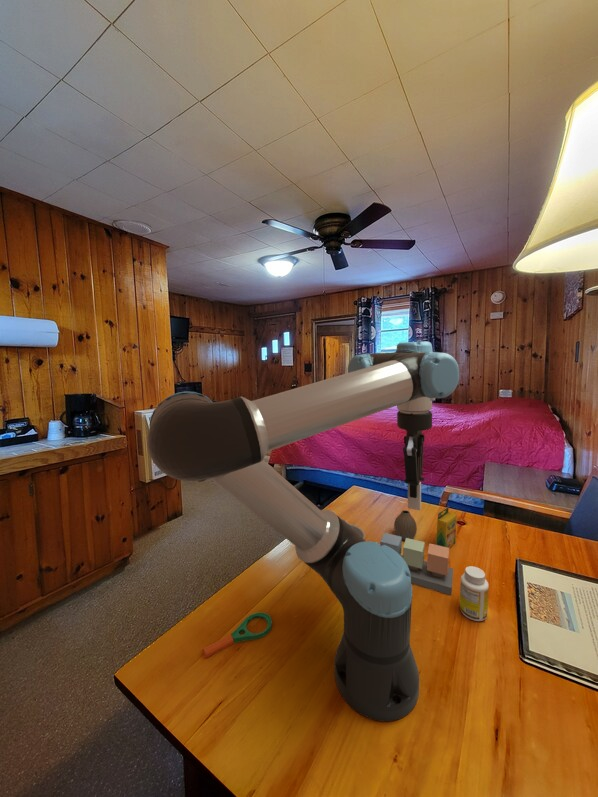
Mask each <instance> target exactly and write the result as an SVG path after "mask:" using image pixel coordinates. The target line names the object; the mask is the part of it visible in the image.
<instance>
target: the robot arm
mask: <svg viewBox="0 0 598 797" xmlns="http://www.w3.org/2000/svg"><path fill="white" fill-rule="evenodd" d="M459 381H460V369H459V364H458V362H457V360H456V358H454V357H453V356H452V355H451V354H449V353H447V352H438V351H433V345H432V343H431V342H430V341H426V340H425V341H407V342H406V341H405V342H404V341H403V342H398V343H397V345H396V350H395V351H394V352H376V353H374V352H373V353H367V352H365V353H364V354H355V355H354V356H353V357H351V359H350V360H349V363H348V366H347V373H343V374H340V375H337V376H333V377H330V378H326V379H323V380H319V381H316V382H313V383H308V384H306V385H303V386H299V387H296V388H292V389H289V390H284V391H282V392H279V393H276V394H271V395H268V396H267V395H266V396H265V397H261V398H257V399H253V400H250V399H247V398H246V397H244V396H239V397H234V398H231V399H228V400H222V401H221V400H220V401H212V400H211V399H210V398H209V397H208V396H206V395H203V394H202V393H198V392H196V391H181V392H176V393H173V394H171V395H169V396H167V397H166V398H164V399H163V400H162V401H161V402H158V405H157V407H155V408H154V410H153V412H152V414H151V416H150V419H149V428H148V432H147V442H146V445H147V450H148V454H149V457H150V458H151V460H152V462H153V464H154V465H155V467H157V468H158V469H159V471H160V472H162V473H163V474H165V475H166V476H168V477H170V478H172V479H175V480H177V481H178V480H179V481H186V482H187V481H188V482H198V483H200V484H204V483H207V482H208V483H209V482H213V483H214V484H215V485H217V486H218V487H219V488H221V489H222V490H223V491H225V492H226V493H228V494H229V495H230V496H231V497H232V498H234V500H237V501H238V503H240V504H241V505H243V506H244V507H245V508H246V509H248V510H249V511H250V512H252V513H253V514H254V515H256V516H257V517H258V518H259V519H260V520H262V521H263V522H264V523H266V524H267V525H268V526H270V528H272V529H273V530H274V531H275V532H277V533H278V534H279V535H281V536H282V537H283V538H285V539H286V540H287V541H289V542H290V544H293V545H294V546H295V547H294V549H295V553H296V555H297V557H298V559H299V560H300V561H301V562H303V563H304V564H305V565H307V566H308V567H309V568H311V569H312V570H313V571H314V572H316V573H317V574H318V575H319V576H320V577H321V578H322V580H323V581H324V582H325V583H326V585H327V586H328V587H329V589H330V590H331V593H333V595H334V596H335V598H336V599H337V600H338V602H339V603H340V605H341V607H342V610H343V633H342V635H341V638H340V641H339V644H338V645H337V648H336V652H335V654H334V655H335V656H334V678H335V679H334V680H335V682H336V686H337V689H338V691H339V693H340V695H341V697H342V698H343V699H344V700H345V702H346V703H347V704H348V705H349V706H350V707H351V708H352V709H353V710H354V711H355V712H357V713H358V714H360V715H362V716H364V717H366V718H368V719H371V720H374V721H379V722H393V721H397V720H400V719H402V718H404V717H405V716H407V715H408V714H409V713H410V712H411V711H412V710H413V709H414V708H415V706H416V705H417V701H418V699H419V694H420V674H419V668H418V666H417V662H416V658H415V655H414V653H413V651H412V647H411V644H410V643H411V641H410V640H411V621H412V602H413V600H412V599H413V586H412V585H413V584H411V575H410V570H409V568H408V565H407V564H406V562H405V560H404V559H403V558H402V557H401V556H400V554H398V553H397V552H396V551H395V550H393V549H392V548H390V547H388V546H386V545H383V546H381V545H380V542H376V541H370V540H368V541H366V540H365V539H363V538H362V537H361V536H360V535H359V534H357V533H356V532H355V531H354V530H353V529H352V528H351V526H350V525H349V524H350V523H348V522H347V521H346V520H344V519H343V518H341V517H340V516H339V515H337V513H335V512H334V511H332V510H330V509H320V508H318V507H317V505H315V504H314V503H313V502H312V501H311V500H309V499H308V498H307V497H306V496H305V495H304V494H303V493H302V492H300V490H298V489H297V488H296V487H295V486H294V485H293V484H291V483H290V482H289V481H288V480H286V479H285V477H283V476H282V474H280V473H279V472H278V471H276V469H275V468H273V467H272V466H271V465H270V464H269V463H267V462H266V461H265V460H264V459H265V457H266V454H267V453H268V452H270V451H273V450H276V449H279V448H282V447H285V446H287V445H291V444H293V443H295V442H298V441H302V440H304V439H306V438H310V437H312V436H313V437H314V436H315V435H316V436H317V435H318V434H321V433H323V432H326V431H329V430H333V429H335V428H338V427H340V426H344V425H347V424H349V423H351V422H355V421H357V420H360V419H362V418H367V417H369V416H373V415H374V414H377V413H380V412H382V411H385V410H388V409H392V408H394V407H396V409H397V410H398V411H397V412H396V418H397V419H396V420H397V421H396V422H397V423H396V425H397V427H398V428H399V429H401V430H404V431H406V435H404V437H403V444H404V446H403V447H402V451H403V458H404V474H405V479H404V481H403V483H404V484H407V509H409V510H414V511H421V509H422V482H425V477H422V476H423V474H424V472H423V464H424V461H423V460H424V444H425V443H424V442H425V441H426V440H425V439H426V438H425V434H424V433H423V431H427V430H430V429H431V428H432V427H433V413H432V411H431V410H432V409H433V402H434V401H436V399H444V398H447V397H449V396H450V395H452V393H454V391H455V390H456V389H457V386H458V384H459ZM421 481H422V482H421Z"/></svg>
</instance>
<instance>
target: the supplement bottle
mask: <svg viewBox="0 0 598 797" xmlns="http://www.w3.org/2000/svg"><path fill="white" fill-rule="evenodd" d="M489 586H490V585H489V582H488V580H487V579H486V573H485V571H484V570H482V569H481V568H479V567H478V566H473V565H471V566H470V565H469V566H466V567H465V570H464V573H463V574H461V577H460V587H459V609H460V611H461V613H462V614H463V616H465V617H466V618H467V619H469V620H471V621H474V622H482V621H484V620H487V617H488V609H489V608H488V606H489V604H488V603H489V592H490V591H489V590H490V589H489Z"/></svg>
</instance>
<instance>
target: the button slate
mask: <svg viewBox="0 0 598 797" xmlns="http://www.w3.org/2000/svg"><path fill="white" fill-rule="evenodd" d="M402 543H403V540H402V537H400V536H397V535H396V534H391V533H386V532H384V533H383V535H382V537H381V540H380V541H379V545H381V546H383V545H386V546H388V547H390V548H392V549H393V550H395V551H396V552H397V553H398V554H400V555H402V548H403V546H402Z"/></svg>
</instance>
